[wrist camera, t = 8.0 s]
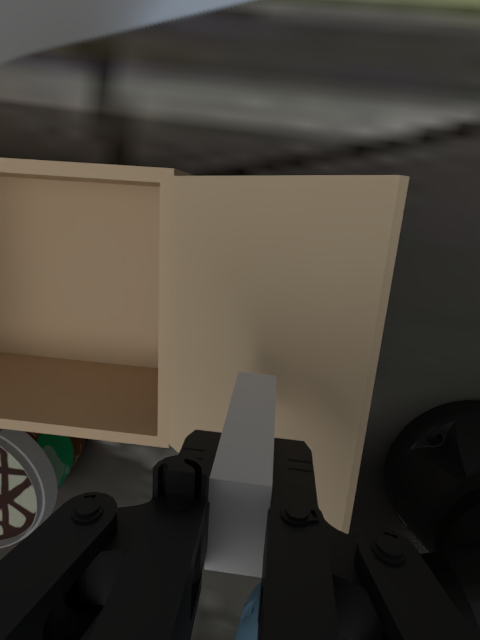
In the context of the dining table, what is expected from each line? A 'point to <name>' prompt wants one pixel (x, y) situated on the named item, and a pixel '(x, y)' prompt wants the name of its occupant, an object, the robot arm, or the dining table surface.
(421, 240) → the dining table surface
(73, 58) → the dining table surface
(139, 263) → the carton
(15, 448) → the food container
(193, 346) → the flap
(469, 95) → the dining table surface
